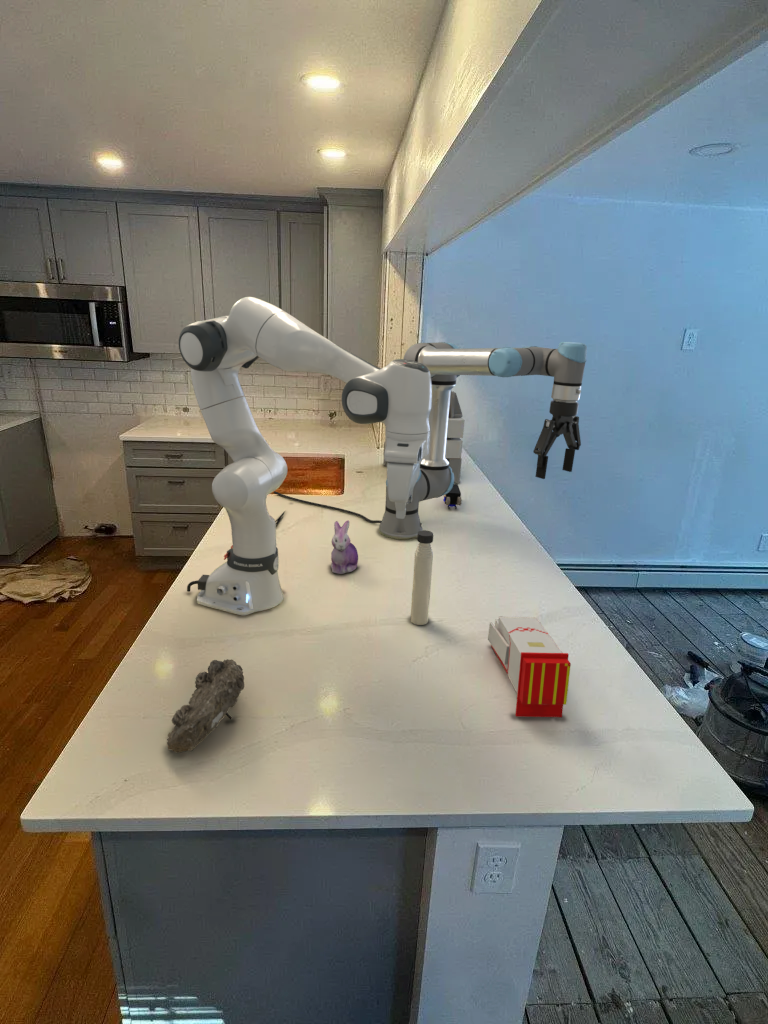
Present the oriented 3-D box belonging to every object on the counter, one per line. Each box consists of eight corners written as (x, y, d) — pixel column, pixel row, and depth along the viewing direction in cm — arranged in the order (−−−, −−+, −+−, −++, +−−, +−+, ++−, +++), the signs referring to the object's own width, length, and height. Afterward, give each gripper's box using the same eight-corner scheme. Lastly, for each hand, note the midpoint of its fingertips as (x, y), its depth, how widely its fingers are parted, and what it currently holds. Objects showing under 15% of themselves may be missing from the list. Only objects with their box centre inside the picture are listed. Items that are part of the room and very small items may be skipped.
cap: (415, 542, 136) (415, 534, 136) (419, 536, 140) (419, 529, 139) (430, 544, 135) (431, 537, 135) (434, 539, 139) (435, 531, 138)
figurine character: (461, 514, 225) (456, 498, 239) (463, 497, 222) (458, 482, 235) (444, 513, 225) (440, 498, 239) (446, 496, 222) (442, 481, 235)
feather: (291, 505, 226) (294, 501, 225) (275, 529, 199) (277, 524, 199) (288, 503, 226) (290, 499, 225) (270, 526, 199) (273, 522, 199)
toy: (534, 602, 136) (579, 659, 107) (529, 653, 139) (572, 723, 110) (484, 601, 136) (516, 658, 107) (480, 652, 139) (510, 722, 109)
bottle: (408, 623, 144) (414, 536, 136) (412, 614, 148) (418, 530, 140) (425, 626, 142) (432, 539, 134) (429, 617, 146) (436, 532, 138)
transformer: (382, 463, 289) (386, 382, 275) (445, 464, 293) (451, 384, 279) (390, 482, 257) (394, 392, 243) (460, 483, 261) (468, 394, 247)
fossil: (192, 660, 117) (244, 628, 112) (224, 691, 120) (276, 661, 115) (142, 746, 98) (202, 712, 93) (182, 779, 101) (242, 748, 96)
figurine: (336, 577, 165) (336, 529, 160) (323, 563, 174) (323, 517, 169) (365, 572, 170) (367, 525, 164) (351, 558, 178) (352, 514, 173)
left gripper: (399, 433, 123) (397, 493, 128) (382, 454, 104) (380, 525, 109) (428, 435, 122) (424, 496, 127) (416, 457, 103) (412, 528, 108)
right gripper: (550, 405, 147) (539, 484, 154) (600, 399, 162) (588, 470, 169) (526, 401, 152) (517, 477, 159) (577, 395, 168) (566, 465, 175)
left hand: (404, 509), depth 117 cm, fingers open, 8 cm apart
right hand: (553, 474), depth 164 cm, fingers open, 13 cm apart
